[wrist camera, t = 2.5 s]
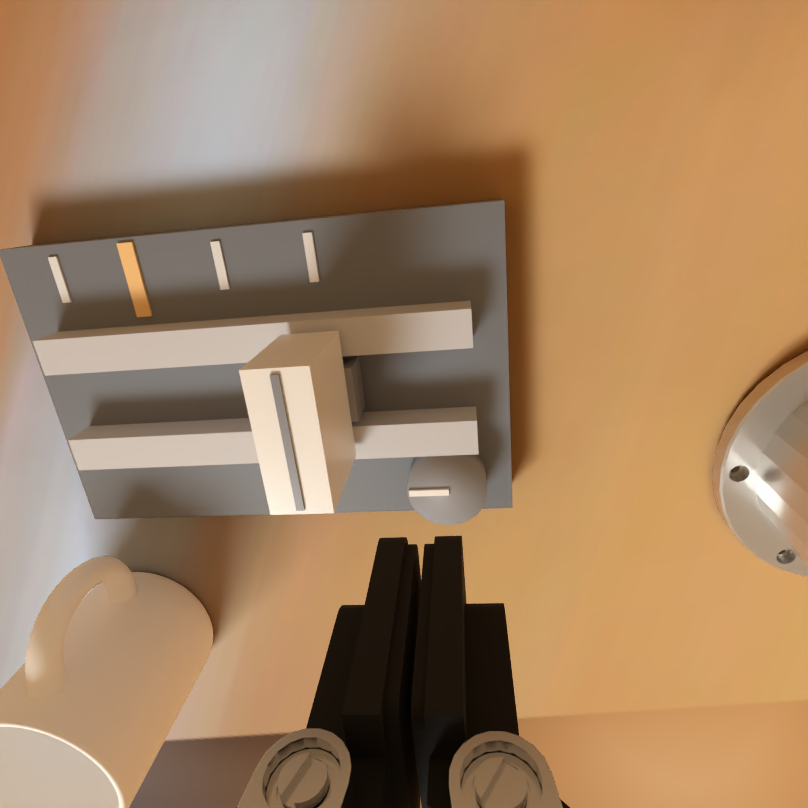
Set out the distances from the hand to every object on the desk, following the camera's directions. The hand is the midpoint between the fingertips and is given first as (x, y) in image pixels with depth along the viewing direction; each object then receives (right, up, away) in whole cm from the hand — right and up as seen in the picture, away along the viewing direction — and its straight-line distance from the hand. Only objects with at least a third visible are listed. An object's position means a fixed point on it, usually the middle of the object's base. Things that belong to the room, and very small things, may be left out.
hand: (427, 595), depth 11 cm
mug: (-16, -8, +23) cm, 29 cm away
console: (-7, +6, +16) cm, 18 cm away
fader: (-4, +5, +14) cm, 15 cm away
